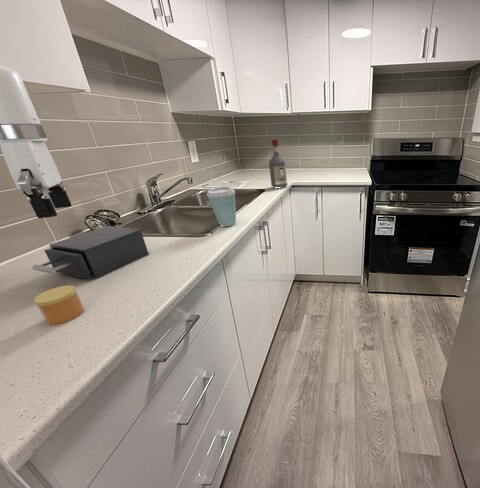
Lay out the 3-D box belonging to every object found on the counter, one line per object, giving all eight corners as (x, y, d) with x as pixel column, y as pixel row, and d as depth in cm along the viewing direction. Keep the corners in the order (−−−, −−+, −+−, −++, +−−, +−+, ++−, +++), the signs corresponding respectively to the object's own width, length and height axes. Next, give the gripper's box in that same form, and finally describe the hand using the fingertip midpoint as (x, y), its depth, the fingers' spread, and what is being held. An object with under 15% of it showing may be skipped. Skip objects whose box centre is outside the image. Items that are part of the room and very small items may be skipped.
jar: (40, 328, 53) (27, 306, 50) (53, 311, 58) (41, 290, 56) (79, 319, 55) (68, 297, 53) (88, 303, 60) (78, 282, 58)
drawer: (65, 288, 65) (53, 264, 62) (32, 281, 69) (19, 258, 66) (138, 255, 81) (131, 235, 79) (108, 250, 86) (101, 231, 83)
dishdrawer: (97, 278, 71) (84, 250, 67) (62, 271, 75) (48, 244, 72) (149, 254, 84) (140, 229, 81) (117, 249, 89) (107, 225, 85)
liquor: (270, 187, 179) (264, 140, 167) (281, 185, 184) (277, 139, 172) (277, 189, 172) (272, 140, 160) (288, 187, 178) (284, 139, 166)
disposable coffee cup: (234, 229, 104) (227, 191, 98) (208, 229, 105) (200, 191, 99) (244, 220, 113) (238, 185, 107) (220, 220, 114) (213, 186, 108)
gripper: (17, 135, 61) (50, 206, 68) (-32, 135, 47) (16, 224, 54) (58, 133, 64) (86, 202, 71) (25, 133, 50) (63, 218, 57)
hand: (56, 211), depth 63 cm, fingers open, 9 cm apart
